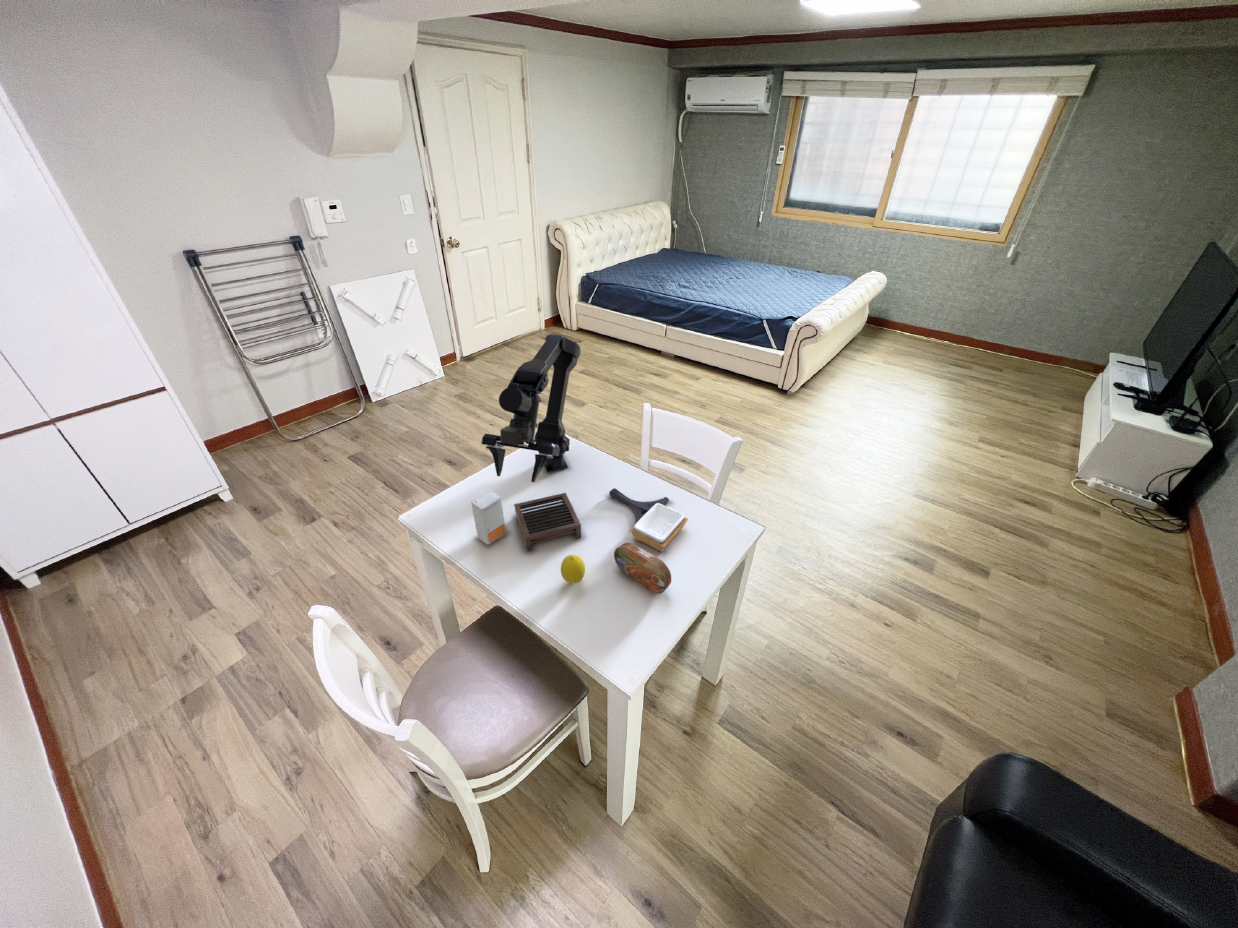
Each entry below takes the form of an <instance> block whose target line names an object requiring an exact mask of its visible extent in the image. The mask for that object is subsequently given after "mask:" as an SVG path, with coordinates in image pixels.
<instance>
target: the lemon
mask: <svg viewBox="0 0 1238 928" xmlns="http://www.w3.org/2000/svg"><path fill="white" fill-rule="evenodd" d="M560 574H561V577H562V579H563V580H564V581H565V582H566V583H568V584H572V585H573V584H577V583H579V582H581V581H582V580H583V578H584V577H585V574H586V565H585V562H584V560H583V559H582V557H581V556H579V555H577V554H568V555H567V556H565V557H564V558H563V560H562V562H561V563H560Z"/></svg>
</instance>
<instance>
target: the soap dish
mask: <svg viewBox="0 0 1238 928" xmlns="http://www.w3.org/2000/svg"><path fill="white" fill-rule="evenodd" d="M650 508H651V509H650V510H649V511H648V512H647V513H646V514H643V517H642V518H641V519H640V520H639V521H638V522H637V523H636V524H635V523H634V524H633V525H634V526H632V527H631V528H630V530H629V531H630V533H631V534H632V535H633V537H634V539H635V540H636V541H639V542H641V543H643V544H646V545H647V546H649V547H650V548H653V549H655V550H656V551H658V552H660V553H663V552H664V550H665V549H666V548H667V547H668V545H670V543H671V542H672V541H673V540H674V538H675V537H676V536H677V535H678V534H679V533H680V532H681V530H682V529H683V528H684V526H686V523H687V522H688V520H689V519H688V517H686V516H685V514H684V513H682V512H680V511H677V510H675V509H673V508H670V507H669V506H666V505H662V504H659V503H656V504H655V505H654V506H653V507H650Z"/></svg>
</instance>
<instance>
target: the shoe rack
mask: <svg viewBox="0 0 1238 928" xmlns="http://www.w3.org/2000/svg"><path fill="white" fill-rule="evenodd" d="M513 507H514V512H515V513H514V514H515V518H516V523H517V524H518V528H519V530H520V534H521V537H522V540H523V543H524V546H525V549H526V552H530V551H532V550H533V549H532V548H533V547H532V544H536V543H541V542H544V541H548V540H552V539H556V538H560V537H564V536H569V535H571V534H574V535H575V538H576V539H580V538H582V524H581V522H580V520H579V518H578V516H577V514H576V511H575V510H574V507H573V505H572V503H571V501H570V499H569V496H568V494H567V492H562V493H558V494H553V495H550V496H545V497H541V498H536V499H531V500H527V501H524V502H519V503H514V506H513Z"/></svg>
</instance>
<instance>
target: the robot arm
mask: <svg viewBox="0 0 1238 928" xmlns="http://www.w3.org/2000/svg"><path fill="white" fill-rule="evenodd" d="M581 352H582V351H581V346H580V345H579V344H578V343H577V341H573V340H571V339H569V338H568V337H566V336H564V335H560V334H553V333H552V334H551V333H550V334H547V335H546V337H545V341H544V343H543V344H542V345H541V347H539V350H538V351H537V353H536V354H535V355H534V357H533V358H532V359H531V360H528V361H525V362H523V363H522V364H521V365H520V366H519V367H518V368H517V370H516V371H515V372H514V374H513V376H512V378H511V379H510V382H509V383H508V385H507V387H506V388H504V389H503V390H502V391H501V393H500V395H499V396H498V404H499V406H500V408H501V409H502V410H503V411H505V412H508V413H511V414H513V417H512V418H510V421H509V424H508V425H505V426H504V427H503V428H501V429H500V431H499V432H500V435H498V434H492V433H484V434H483V436H482V437H481V441H480V442H481V445H485V449H487V450H489V451H490V452H489V453H491V456H492V458H493V462H494V468H495V472H496V473H495V474H496V477H501V475H502V472H503V467H504V460H505V455H506V451H507V449H506V448H503V447H510V448H514V449H515V448H516V449H523V450H529V451H535V452H538V454H537V453H535V454H534V458H535V460H534V465H533V470H532V474H531V483H535V482H536V481H537V479H538V478H539V475H540V474H541V472H542V470H543V469H545V470H546V471H545V472H546V473H551V472H555V471H560V470H565V469H568V468H569V466H568V464H567V461H566V460H565V454H566V452H569V451H570V444H571V443H570V442H571V441H570V440H571V439H570V438H569V437H567V435H566V429H565V425H564V423H563V421H562V420H563V415H564V409H565V403H566V396H567V390H568V384H569V380H570V373H572V371H573V369H574V368H575V367H576V366H577V365H578V360H579V358H580V356H581ZM551 368H553V371H552V372H553V373H552V378H551V383H550V389H549V395H548V401H547V407H546V413H545V418H544V419H543V420H542V421H539V422H538V423H537V421H538V415H539V406H540V403H542V398H541V397H540V396H539V395H541V393H543V392H544V391H545V389H546V388H547V387H548V384H549V382H550V381H549V375H548V373H549V371H550V370H551ZM536 428H537V429H536ZM524 443H526V444H524Z"/></svg>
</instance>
